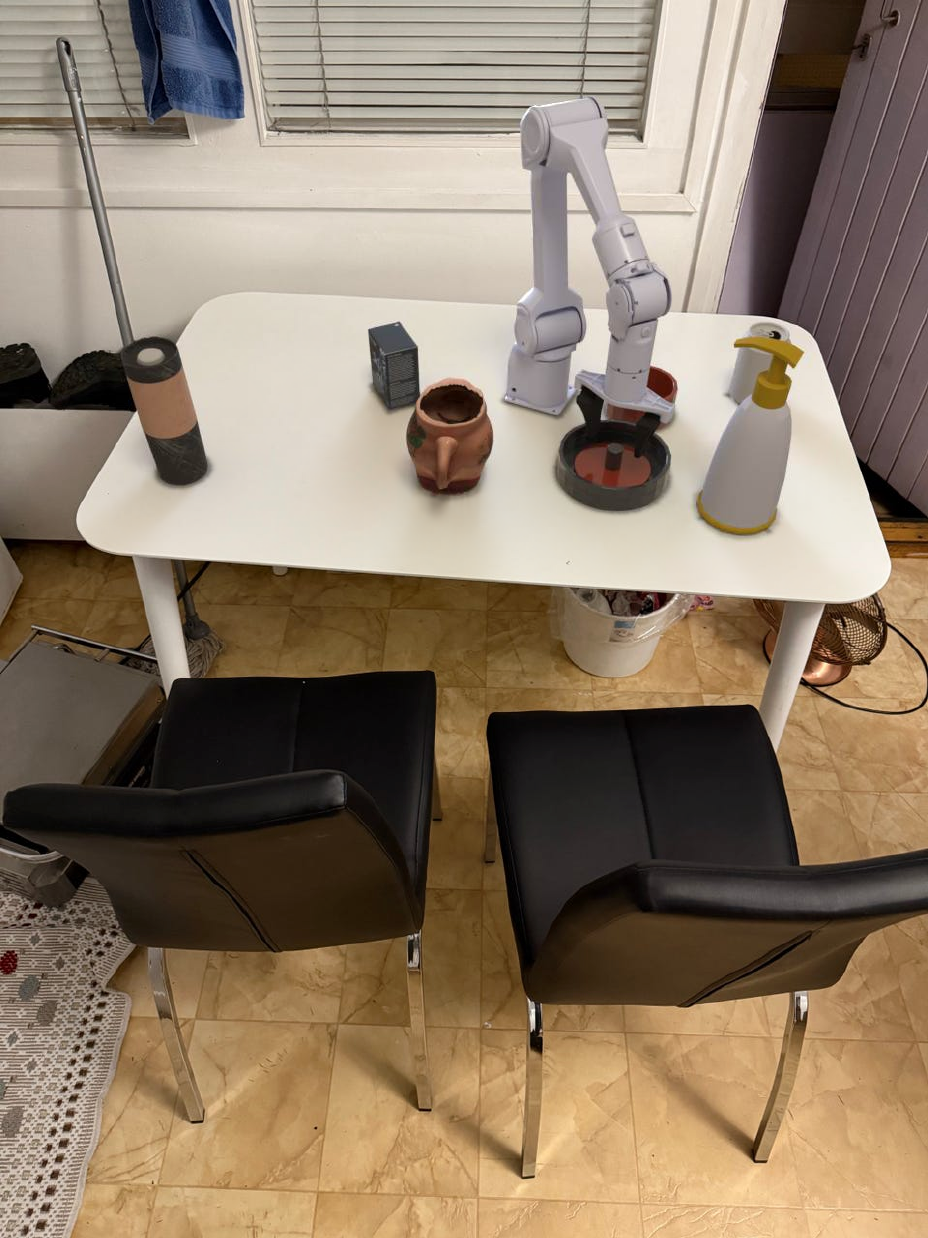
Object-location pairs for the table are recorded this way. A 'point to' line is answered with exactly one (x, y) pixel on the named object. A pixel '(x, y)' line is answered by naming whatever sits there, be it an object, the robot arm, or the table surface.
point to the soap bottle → (753, 449)
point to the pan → (611, 495)
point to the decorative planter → (449, 437)
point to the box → (394, 365)
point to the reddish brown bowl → (657, 383)
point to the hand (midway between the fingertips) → (616, 444)
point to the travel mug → (165, 409)
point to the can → (754, 359)
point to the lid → (612, 465)
